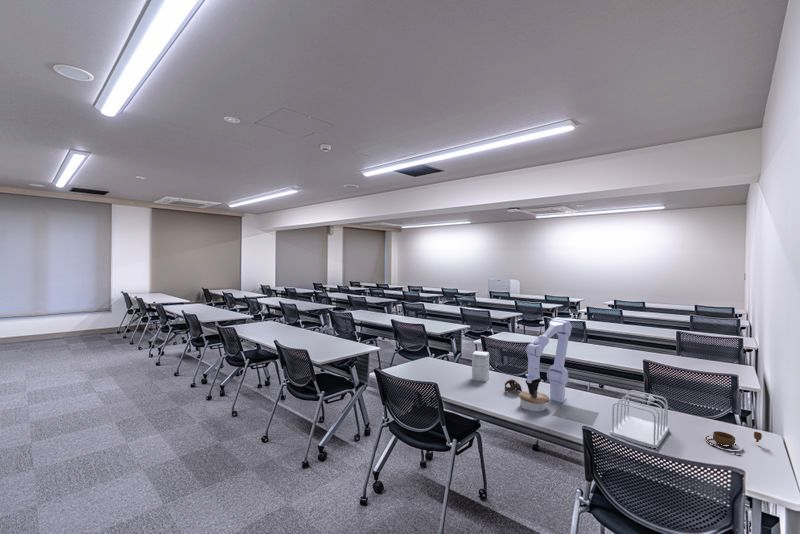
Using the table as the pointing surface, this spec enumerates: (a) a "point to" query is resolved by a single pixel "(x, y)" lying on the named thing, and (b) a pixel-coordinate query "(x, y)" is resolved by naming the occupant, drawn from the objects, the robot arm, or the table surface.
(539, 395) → the walnut lid
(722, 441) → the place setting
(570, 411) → the grey square pad
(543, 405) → the grey bowl
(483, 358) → the supplement box
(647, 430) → the file sorter
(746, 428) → the table surface
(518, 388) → the brown dome
